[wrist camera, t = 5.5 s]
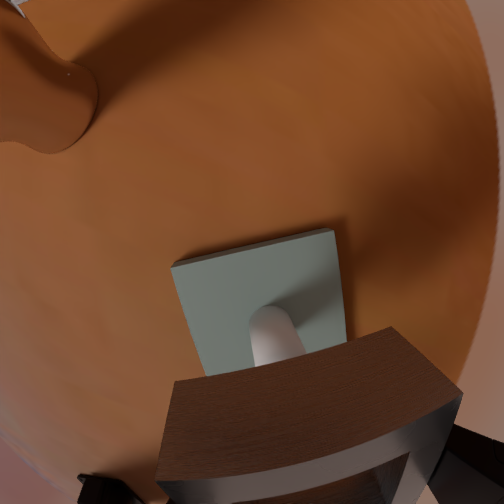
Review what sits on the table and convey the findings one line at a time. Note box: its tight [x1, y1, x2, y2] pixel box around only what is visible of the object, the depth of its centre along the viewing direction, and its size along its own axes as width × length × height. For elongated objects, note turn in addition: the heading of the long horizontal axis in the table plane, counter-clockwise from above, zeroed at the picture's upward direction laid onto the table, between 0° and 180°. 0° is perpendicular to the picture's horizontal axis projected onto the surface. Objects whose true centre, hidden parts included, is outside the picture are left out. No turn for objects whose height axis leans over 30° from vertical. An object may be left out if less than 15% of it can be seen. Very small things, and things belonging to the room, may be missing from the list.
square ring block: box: [154, 327, 463, 504], centre depth 6 cm, size 6×6×4 cm
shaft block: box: [170, 227, 347, 376], centre depth 14 cm, size 9×9×6 cm
